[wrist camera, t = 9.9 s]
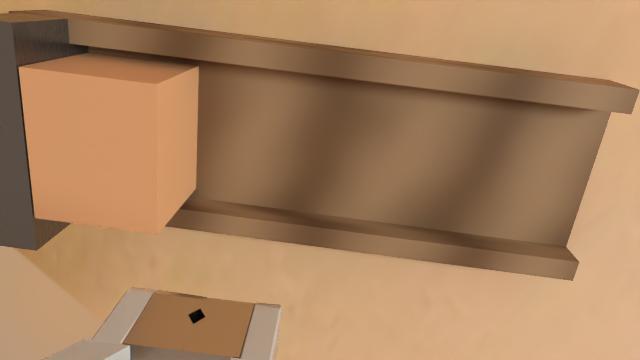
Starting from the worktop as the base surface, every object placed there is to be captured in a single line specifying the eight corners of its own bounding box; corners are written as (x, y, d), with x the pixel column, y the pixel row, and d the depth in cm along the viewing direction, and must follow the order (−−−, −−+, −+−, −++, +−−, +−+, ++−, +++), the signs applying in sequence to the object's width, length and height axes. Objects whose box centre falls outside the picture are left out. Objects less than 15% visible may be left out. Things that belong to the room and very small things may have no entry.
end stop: (58, 197, 25) (-11, 244, 20) (42, 11, 21) (-45, 15, 17) (97, 202, 25) (36, 250, 20) (86, 17, 21) (11, 22, 17)
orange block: (96, 175, 24) (34, 217, 19) (90, 52, 22) (18, 66, 17) (196, 188, 24) (157, 234, 19) (198, 65, 22) (156, 84, 17)
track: (59, 189, 26) (30, 208, 23) (44, 10, 22) (8, 11, 20) (552, 254, 25) (572, 280, 23) (609, 80, 22) (639, 89, 19)
